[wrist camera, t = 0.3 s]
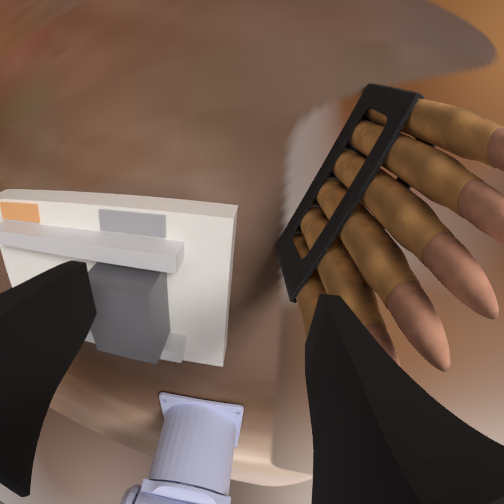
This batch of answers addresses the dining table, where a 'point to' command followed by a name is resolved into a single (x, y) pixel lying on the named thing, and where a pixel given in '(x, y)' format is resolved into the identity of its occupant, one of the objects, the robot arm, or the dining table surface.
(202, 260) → the switch board
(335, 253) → the ammunition clip
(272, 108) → the dining table surface
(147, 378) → the dining table surface
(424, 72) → the dining table surface
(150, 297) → the switch tab
